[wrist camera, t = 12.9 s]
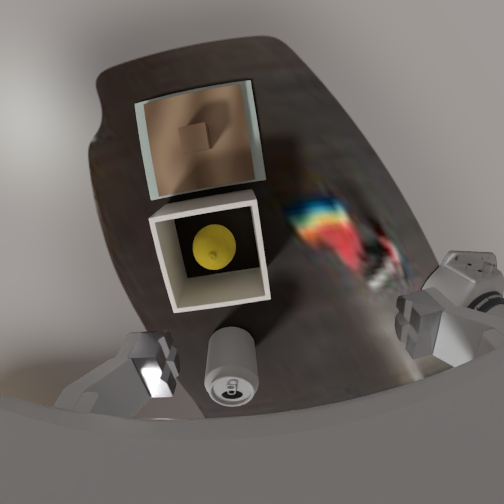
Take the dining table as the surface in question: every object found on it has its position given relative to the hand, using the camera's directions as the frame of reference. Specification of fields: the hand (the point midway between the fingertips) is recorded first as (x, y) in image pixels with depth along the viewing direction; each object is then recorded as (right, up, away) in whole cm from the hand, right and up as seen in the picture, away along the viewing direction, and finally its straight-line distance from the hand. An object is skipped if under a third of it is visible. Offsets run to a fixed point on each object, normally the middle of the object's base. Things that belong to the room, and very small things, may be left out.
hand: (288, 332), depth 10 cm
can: (-5, -12, +38) cm, 40 cm away
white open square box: (-6, +5, +32) cm, 33 cm away
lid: (-8, +17, +27) cm, 33 cm away
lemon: (-6, +5, +32) cm, 33 cm away
